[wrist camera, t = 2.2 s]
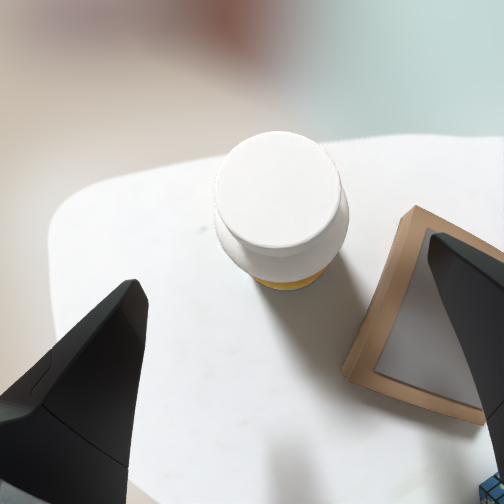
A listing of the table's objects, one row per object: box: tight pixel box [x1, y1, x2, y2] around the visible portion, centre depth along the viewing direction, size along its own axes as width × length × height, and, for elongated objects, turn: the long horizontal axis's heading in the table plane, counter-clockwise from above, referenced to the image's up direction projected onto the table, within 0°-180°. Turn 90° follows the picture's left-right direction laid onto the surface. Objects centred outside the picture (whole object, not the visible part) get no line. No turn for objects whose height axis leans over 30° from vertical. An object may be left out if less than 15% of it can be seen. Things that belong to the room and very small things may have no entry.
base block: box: [340, 205, 504, 426], centre depth 15 cm, size 10×10×3 cm
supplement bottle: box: [214, 132, 349, 290], centre depth 14 cm, size 5×5×10 cm
